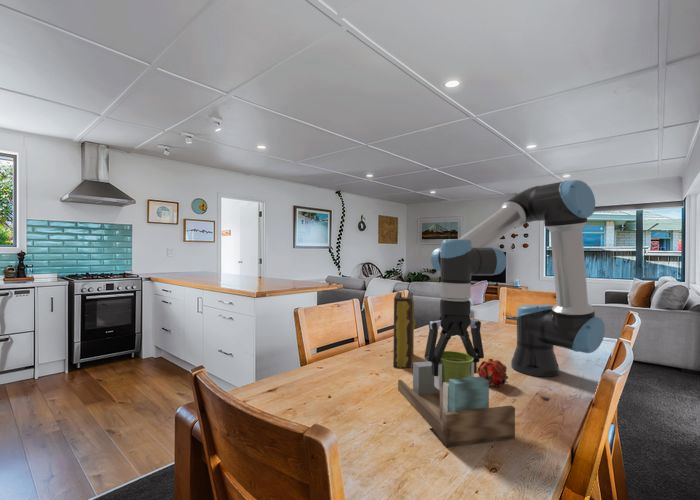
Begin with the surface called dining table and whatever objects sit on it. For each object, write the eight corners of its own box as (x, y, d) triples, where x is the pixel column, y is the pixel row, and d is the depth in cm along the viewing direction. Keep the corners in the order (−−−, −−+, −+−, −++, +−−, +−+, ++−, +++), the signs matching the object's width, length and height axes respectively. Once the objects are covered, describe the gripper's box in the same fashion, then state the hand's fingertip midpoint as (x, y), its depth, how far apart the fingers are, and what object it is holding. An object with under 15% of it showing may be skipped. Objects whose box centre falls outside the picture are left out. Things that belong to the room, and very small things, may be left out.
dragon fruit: (499, 384, 116) (490, 401, 106) (477, 365, 119) (466, 381, 110) (515, 367, 112) (507, 384, 103) (492, 348, 116) (482, 363, 106)
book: (414, 369, 124) (414, 299, 124) (389, 367, 126) (390, 298, 126) (415, 352, 146) (415, 291, 146) (394, 350, 148) (395, 291, 148)
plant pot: (464, 382, 96) (464, 350, 96) (479, 396, 86) (480, 361, 86) (430, 383, 95) (431, 350, 95) (442, 397, 86) (443, 361, 86)
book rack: (450, 388, 108) (450, 346, 107) (514, 438, 79) (515, 381, 79) (398, 393, 104) (398, 349, 104) (445, 447, 75) (446, 387, 75)
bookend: (440, 387, 106) (441, 360, 106) (447, 392, 102) (447, 364, 102) (412, 389, 104) (413, 362, 104) (418, 394, 100) (418, 366, 100)
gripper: (482, 296, 97) (481, 378, 97) (411, 297, 92) (410, 384, 92) (500, 300, 89) (499, 389, 89) (423, 301, 85) (422, 395, 85)
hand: (453, 386), depth 91 cm, fingers closed on plant pot, 8 cm apart
